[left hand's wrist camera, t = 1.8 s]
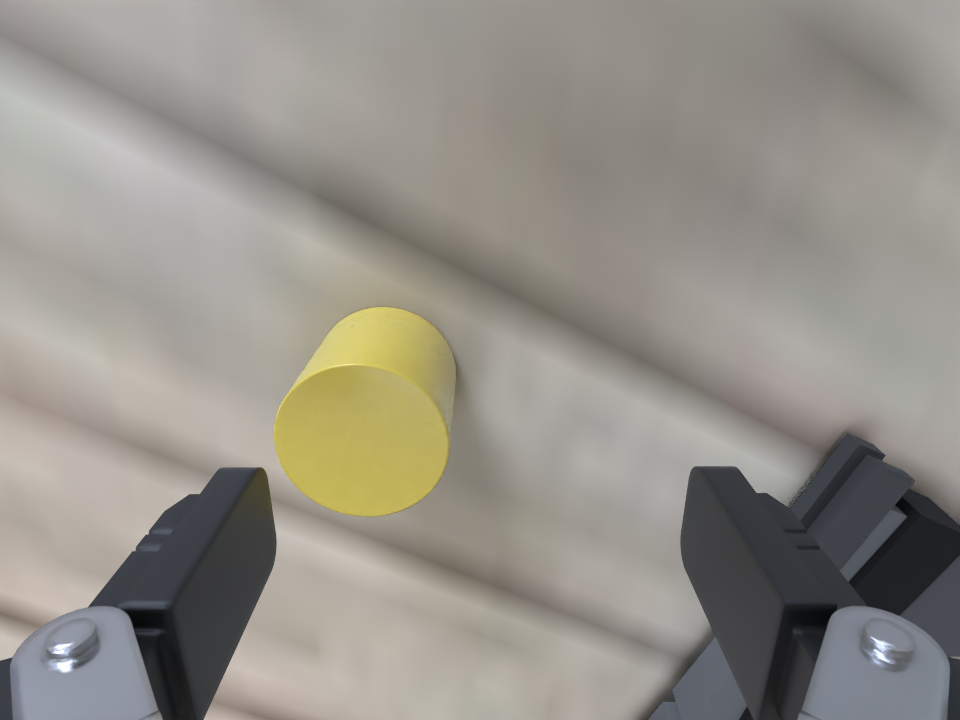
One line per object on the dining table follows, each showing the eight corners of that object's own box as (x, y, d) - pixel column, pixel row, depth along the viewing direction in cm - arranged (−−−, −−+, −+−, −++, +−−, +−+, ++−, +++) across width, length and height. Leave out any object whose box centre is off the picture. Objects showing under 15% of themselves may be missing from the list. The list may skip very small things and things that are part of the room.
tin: (324, 432, 21) (283, 517, 16) (310, 305, 19) (261, 363, 15) (457, 433, 21) (450, 518, 16) (455, 306, 19) (447, 364, 15)
